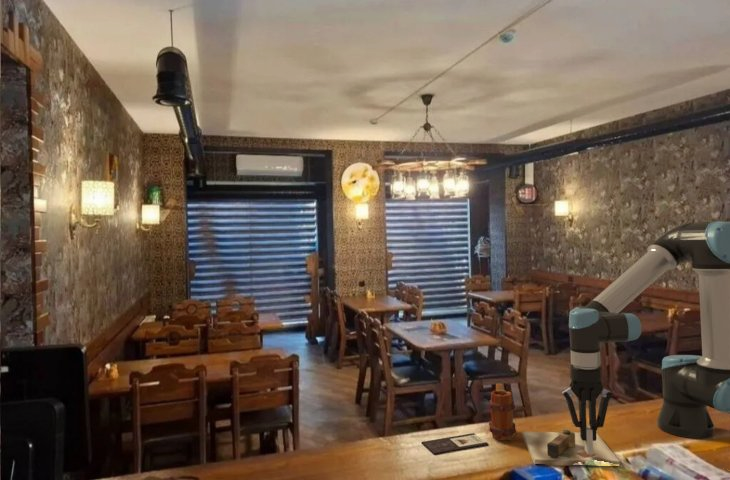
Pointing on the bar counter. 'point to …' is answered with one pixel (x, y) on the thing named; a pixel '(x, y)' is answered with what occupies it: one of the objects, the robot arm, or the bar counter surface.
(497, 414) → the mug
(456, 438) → the chocolate bar
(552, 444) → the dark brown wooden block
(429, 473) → the bar counter surface
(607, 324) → the robot arm
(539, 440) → the dial board
